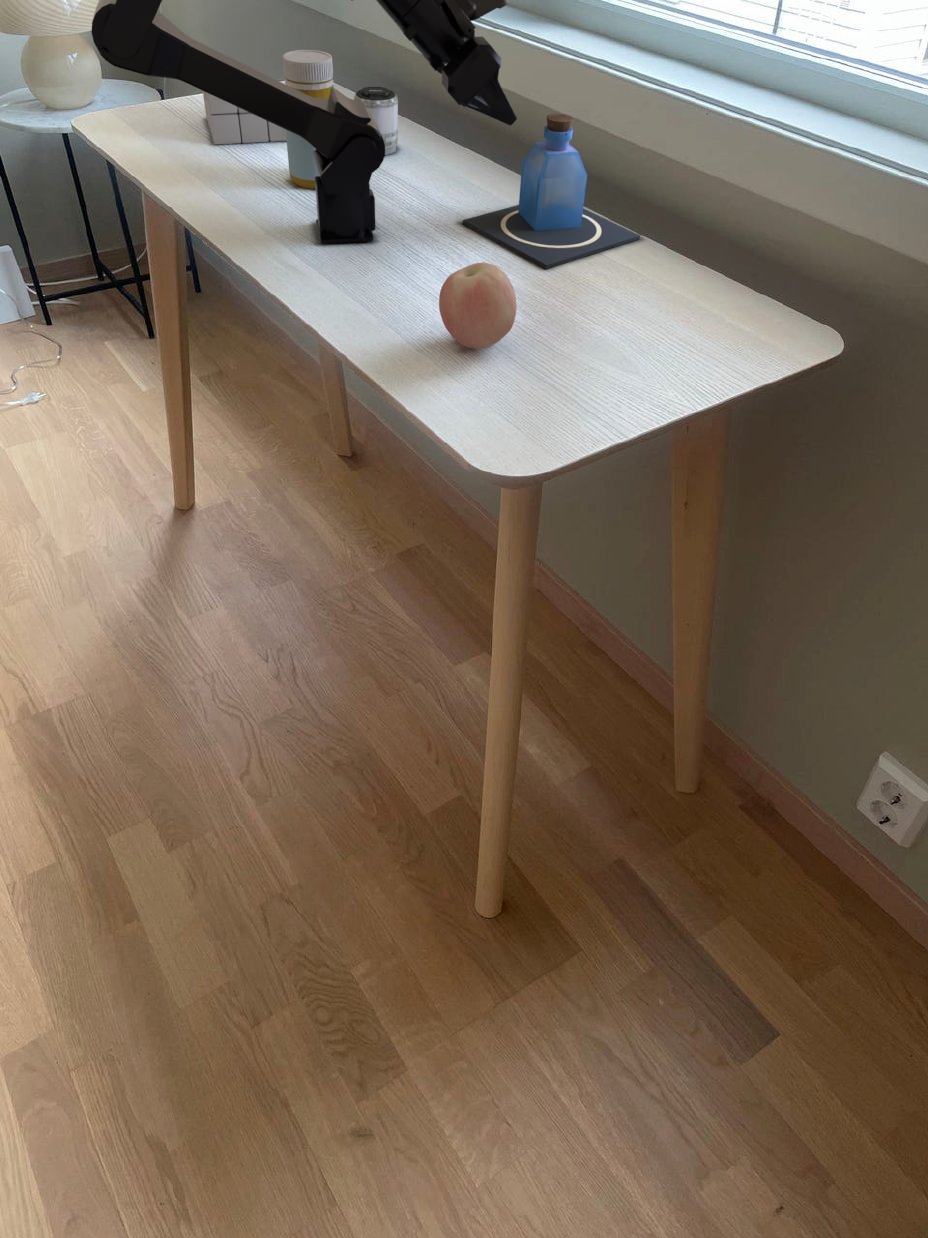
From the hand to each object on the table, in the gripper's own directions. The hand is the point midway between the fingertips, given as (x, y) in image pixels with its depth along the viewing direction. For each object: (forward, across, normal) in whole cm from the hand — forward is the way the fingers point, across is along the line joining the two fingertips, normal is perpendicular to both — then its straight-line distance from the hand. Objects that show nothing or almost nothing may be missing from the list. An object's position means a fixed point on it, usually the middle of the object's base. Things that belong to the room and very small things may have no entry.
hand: (504, 109), depth 108 cm
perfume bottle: (+14, 0, +4) cm, 15 cm away
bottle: (-5, +18, +25) cm, 31 cm away
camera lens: (+2, +30, +18) cm, 35 cm away
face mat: (+14, -2, +5) cm, 15 cm away
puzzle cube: (-11, +40, +30) cm, 51 cm away
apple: (+3, -30, +16) cm, 34 cm away
